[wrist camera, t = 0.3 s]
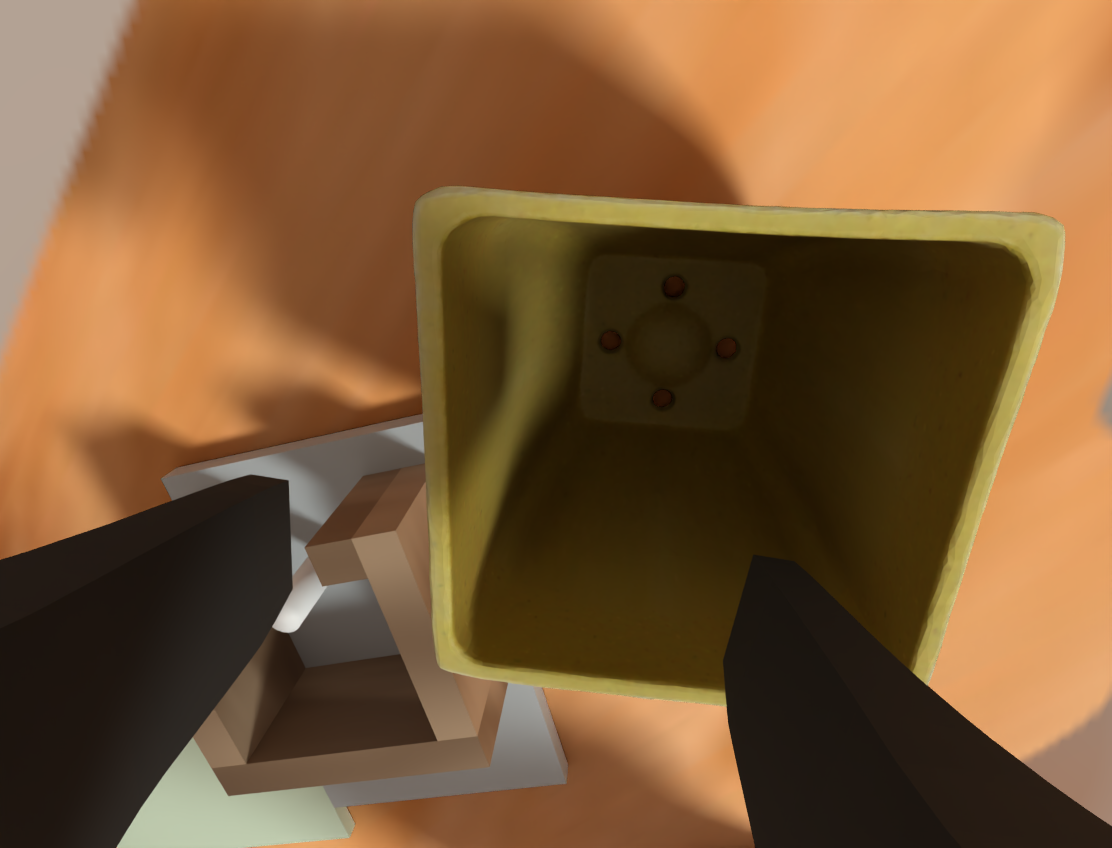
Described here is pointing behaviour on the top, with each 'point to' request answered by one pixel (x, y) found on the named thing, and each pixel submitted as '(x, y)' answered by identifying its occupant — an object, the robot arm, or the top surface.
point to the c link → (357, 670)
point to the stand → (373, 603)
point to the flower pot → (707, 421)
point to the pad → (229, 812)
